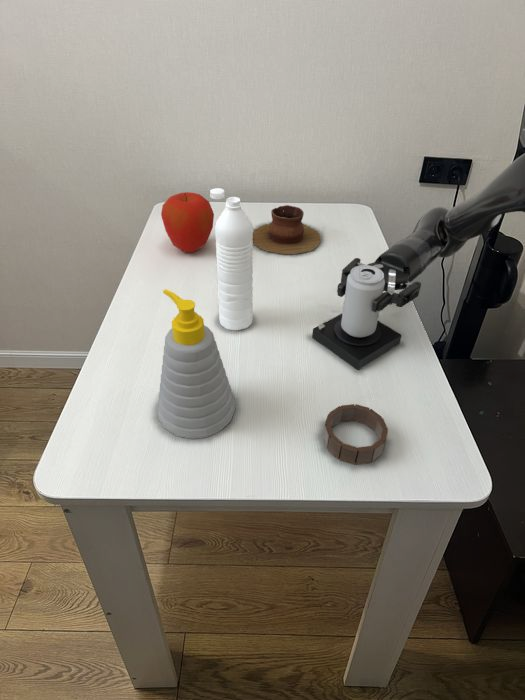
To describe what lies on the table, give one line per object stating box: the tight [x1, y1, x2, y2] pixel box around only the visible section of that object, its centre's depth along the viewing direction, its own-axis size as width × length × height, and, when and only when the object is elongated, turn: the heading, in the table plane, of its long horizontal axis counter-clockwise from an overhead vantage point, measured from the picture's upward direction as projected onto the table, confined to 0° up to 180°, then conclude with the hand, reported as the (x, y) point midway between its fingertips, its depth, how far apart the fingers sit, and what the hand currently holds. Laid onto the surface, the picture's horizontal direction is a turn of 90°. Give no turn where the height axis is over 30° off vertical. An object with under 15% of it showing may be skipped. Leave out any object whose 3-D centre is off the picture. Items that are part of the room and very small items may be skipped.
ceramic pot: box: [252, 204, 322, 255], centre depth 121 cm, size 18×18×7 cm
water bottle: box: [209, 187, 254, 331], centre depth 89 cm, size 9×6×25 cm
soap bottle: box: [157, 288, 237, 440], centre depth 72 cm, size 12×12×20 cm
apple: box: [160, 191, 215, 254], centre depth 114 cm, size 12×12×14 cm
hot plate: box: [311, 313, 403, 370], centre depth 91 cm, size 12×12×3 cm
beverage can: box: [341, 264, 385, 337], centre depth 86 cm, size 6×6×12 cm
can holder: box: [322, 403, 389, 465], centre depth 73 cm, size 9×9×3 cm
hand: (356, 299), depth 84 cm, fingers closed on beverage can, 6 cm apart
